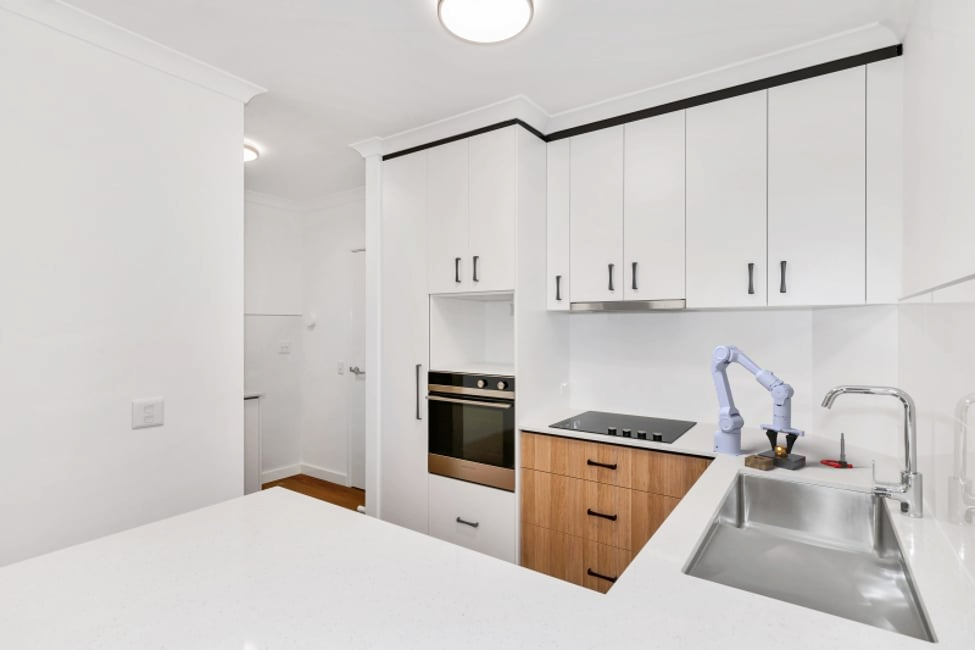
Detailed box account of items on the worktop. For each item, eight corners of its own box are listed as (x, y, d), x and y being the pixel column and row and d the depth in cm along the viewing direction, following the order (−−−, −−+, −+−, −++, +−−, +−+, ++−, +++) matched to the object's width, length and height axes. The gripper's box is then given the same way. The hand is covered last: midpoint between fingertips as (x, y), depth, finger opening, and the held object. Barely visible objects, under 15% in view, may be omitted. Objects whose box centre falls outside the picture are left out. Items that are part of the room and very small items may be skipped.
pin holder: (744, 466, 176) (744, 457, 176) (753, 463, 181) (753, 454, 181) (764, 471, 171) (764, 462, 171) (773, 468, 175) (773, 458, 175)
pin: (772, 462, 181) (772, 446, 181) (777, 460, 183) (778, 444, 183) (784, 465, 177) (784, 448, 177) (790, 463, 179) (790, 447, 179)
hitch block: (757, 463, 181) (757, 454, 181) (771, 458, 189) (771, 449, 189) (792, 471, 172) (792, 461, 172) (805, 465, 179) (805, 456, 179)
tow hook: (815, 462, 185) (833, 468, 176) (815, 429, 186) (832, 433, 177) (836, 462, 185) (855, 468, 176) (836, 429, 186) (855, 433, 177)
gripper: (756, 414, 184) (756, 449, 184) (799, 420, 172) (798, 458, 172) (765, 412, 188) (764, 446, 188) (807, 418, 176) (806, 455, 176)
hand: (781, 451), depth 180 cm, fingers closed on pin, 4 cm apart
